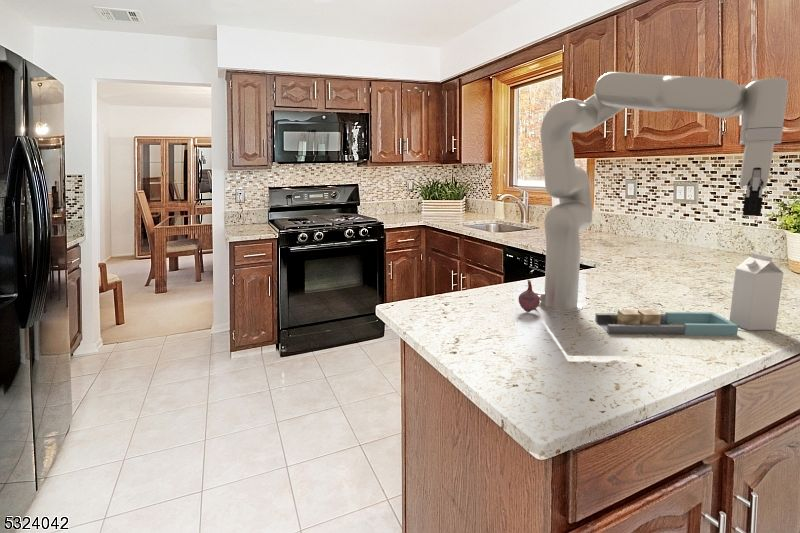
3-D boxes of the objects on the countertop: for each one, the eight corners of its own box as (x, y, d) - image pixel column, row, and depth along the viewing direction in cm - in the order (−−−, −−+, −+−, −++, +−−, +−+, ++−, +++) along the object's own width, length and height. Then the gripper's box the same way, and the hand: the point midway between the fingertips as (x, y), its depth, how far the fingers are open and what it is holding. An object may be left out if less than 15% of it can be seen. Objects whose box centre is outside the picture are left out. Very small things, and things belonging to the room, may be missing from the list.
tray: (684, 338, 117) (686, 324, 117) (664, 324, 128) (665, 312, 127) (736, 339, 116) (738, 325, 116) (711, 325, 127) (713, 312, 126)
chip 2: (643, 329, 121) (644, 314, 121) (636, 324, 125) (638, 310, 125) (659, 329, 121) (660, 314, 120) (652, 324, 125) (654, 310, 124)
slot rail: (608, 337, 119) (609, 326, 118) (594, 323, 130) (595, 313, 129) (684, 338, 117) (685, 326, 117) (664, 324, 128) (665, 313, 128)
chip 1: (622, 329, 122) (623, 314, 121) (617, 324, 126) (618, 309, 125) (638, 329, 121) (640, 314, 121) (632, 324, 125) (634, 309, 125)
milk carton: (754, 321, 129) (763, 252, 125) (775, 330, 122) (786, 257, 118) (728, 322, 129) (737, 253, 125) (748, 331, 122) (757, 257, 118)
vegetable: (537, 310, 144) (538, 277, 142) (541, 316, 138) (542, 282, 136) (516, 309, 144) (517, 277, 142) (519, 315, 138) (520, 282, 136)
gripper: (740, 140, 117) (732, 210, 120) (739, 136, 103) (730, 216, 106) (779, 138, 112) (770, 211, 116) (784, 134, 98) (773, 217, 102)
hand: (751, 213), depth 111 cm, fingers open, 9 cm apart
